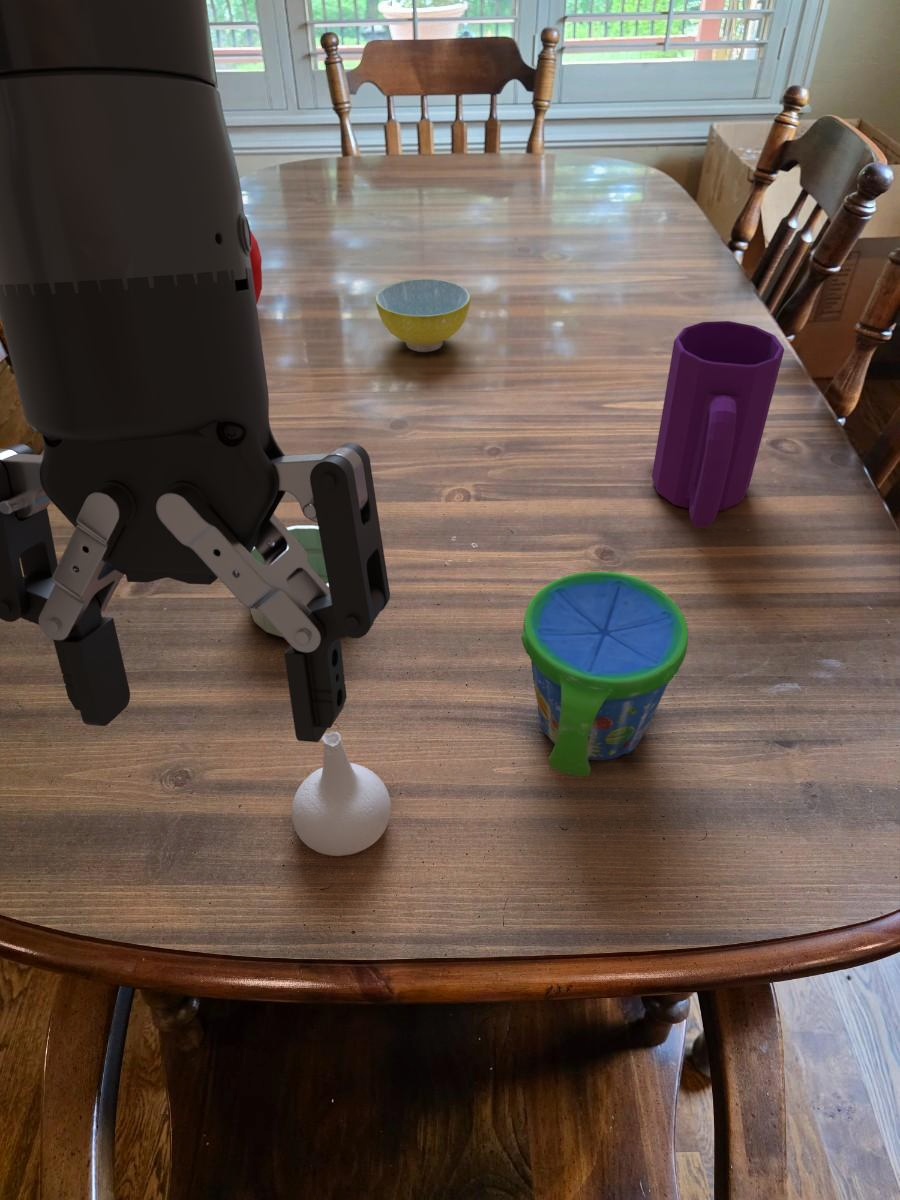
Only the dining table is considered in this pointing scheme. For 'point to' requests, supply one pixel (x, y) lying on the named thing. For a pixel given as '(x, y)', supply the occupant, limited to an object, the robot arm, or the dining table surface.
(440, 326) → the bowl
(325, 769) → the garlic bulb
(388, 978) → the dining table surface
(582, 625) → the snack cup
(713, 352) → the mug
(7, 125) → the robot arm
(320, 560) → the dish
